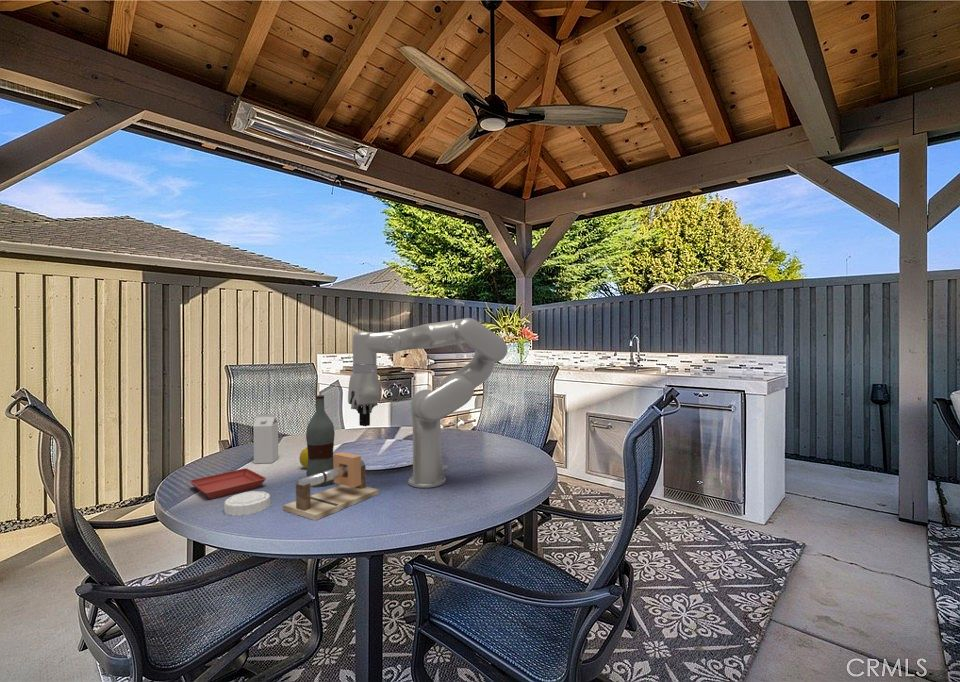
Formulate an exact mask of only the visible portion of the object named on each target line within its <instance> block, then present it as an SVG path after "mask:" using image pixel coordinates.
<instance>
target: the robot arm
mask: <svg viewBox="0 0 960 682" xmlns="http://www.w3.org/2000/svg"><path fill="white" fill-rule="evenodd" d="M352 335H353V336H352V374H350V378H349V380H348V381H349V383H348V391H347V402H348V404H349V405H350V409H351V410H356V411H357V413H358V414H359V418H358V420H359V426H360V427H368V426H371V413H372V412H373V409H374V408H375V407H377V406H378V405H379V403H378V402H379V401H380V382H379V375H378V373H377V371H378V363H377V355H378V354H385V355H393V354H395V353H398V352H400V351H402V352H403V351H408V350H417V349H419V350H420V349H421V350H427V349H434V348H435V349H436V348H441V347H446V346H453V345H459V344H467V345H468V346H469V347H471V348H472V349H473V350H474V355H473V358H472V360H471V361H470V362H468V363H467V364H465V365H464V366H463V367H461V368H460V369H458V370H455V371H454V372H453V373H451V374H448V375H447V376H445V377H444V378H443V379H442V380H441V381H440V383H439V387H437V388H436V389H434V390H431V389H421V390H418V391H417V392H416V393H415V394H414V395H413V397H412V400H411V403H410V406H411V407H410V408H411V409H410V410H411V421H412V476H410V477H409V478H408V484H409V485H410V486H411V487H413V488H419V489H423V488H424V489H425V488H427V489H428V488H429V489H431V488H436V487H439V486H443V485H444V484H445V483H446V482H447V481H446V480H447V479H446V477H445V475H443V473H444V472H446V471H448V469H449V466H448V465H447V464H445V465H442V454H441V453H442V441H441V439H442V433H441V432H442V429H441V420H442V419H444V418H446V417H447V416H449V415H450V414H453V413H454V412H456V411H457V410H459V409H460V408H462V407H463V406H465V405H466V404H467V403H468V402H470V401H471V399H472V397H473V396H474V392H475V389H476V388H477V387H479V386H480V385H483V383H485V382H486V381H487V380H488V379H489V378H490V377H491V376H492V373H493V371H494V367H495V364H496V363H497V362H501V361H502V360H504V359H505V358H506V356H507V354H508V345H507V343H506V342H505V340H504V339H503V338H502V337H500V336H499V335H498V334H496V333H495V332H493V330H490V329H489V328H487V327H486V326H485V325H483V324H482V323H480V322H479V321H478V320H476V319H474V318H472V317H467V318H466V317H465V318H459V319H452V320H445V321H438V322H432V323H425V324H421V325H418V326H413V327H408V328H401V329H396V330H388V331H381V332H373V331H357V332H354V333H353V334H352Z"/></svg>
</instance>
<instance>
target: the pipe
mask: <svg viewBox="0 0 960 682" xmlns="http://www.w3.org/2000/svg"><path fill="white" fill-rule="evenodd" d="M365 464H366V463H365V461H364V460H363V459H361V466H364V465H365ZM365 466H366V465H365ZM347 474H348V465H343V466H340V467H337V468H334V469H330V470H327V471H324V472H320V473H318V474H315V475H311V476H308V477H307V476H305V477H302V478H299V479H297V481H296V483H297V484H299V485H303V486H304V485H307V484H310V488H312V486H315V485H318V484H321V483H325V482H326V481H329V480H332V479H335V478H338V477H341V476H344V475H347ZM303 486H302V489H303ZM299 488H301V487H299ZM299 488H298V489H299ZM302 489H301V490H302Z"/></svg>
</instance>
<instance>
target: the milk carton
mask: <svg viewBox="0 0 960 682" xmlns="http://www.w3.org/2000/svg"><path fill="white" fill-rule="evenodd" d="M277 419H278V418H276V414H275V413H272V414H270V413H269V414H268V413H266V414H256V418H255V420H254V424H253V463H254V464H255V465H256V464H273V463H274V462H276V461H277V460H278V459H279V422H278V420H277Z"/></svg>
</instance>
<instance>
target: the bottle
mask: <svg viewBox="0 0 960 682" xmlns="http://www.w3.org/2000/svg"><path fill="white" fill-rule="evenodd" d="M315 399H316V400H315V402H316V403H315V412H314V414H313V416H312V417H311V419H310V420H309V422H308V424H307V426H306V433H305V438H306V439H305V440H306V448H307V450H308V464H307V468H306V477H308V476H311V475H315V474H318V473H320V472H324V471H327V470H330V469H334V468H333V454H334V448H335V447H334V446H335V445H334V444H335V433H336V432H335V425H334V423H333V421H332V420H331V418H330V417H329V415H328V414H327V412H326V411H325V395H324V394H318V395H317V394H316V395H315ZM332 484H334V479H332V480H329V481H326V482H325V483H321V484H318V485H315V486H312V487H313V488H321V487H326V486H330V485H332ZM312 487H311V488H312Z"/></svg>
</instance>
